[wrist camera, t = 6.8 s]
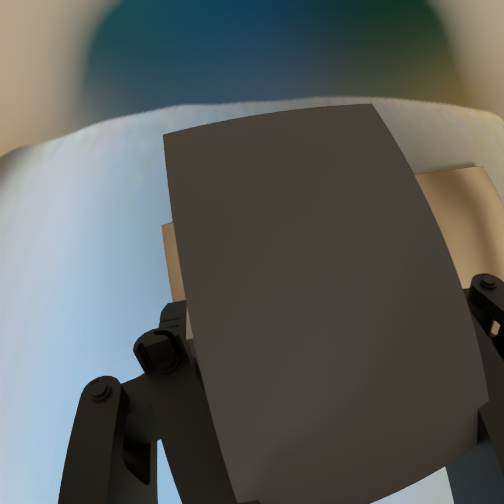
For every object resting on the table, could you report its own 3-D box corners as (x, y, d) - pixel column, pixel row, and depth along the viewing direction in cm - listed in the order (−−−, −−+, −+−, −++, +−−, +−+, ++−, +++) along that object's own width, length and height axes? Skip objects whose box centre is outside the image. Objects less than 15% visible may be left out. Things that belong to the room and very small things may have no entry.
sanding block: (218, 279, 17) (163, 134, 6) (306, 258, 17) (371, 103, 7) (252, 422, 14) (249, 536, 3) (344, 397, 14) (493, 433, 4)
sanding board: (223, 486, 14) (220, 494, 13) (166, 233, 19) (161, 225, 18) (538, 343, 16) (547, 341, 14) (476, 173, 21) (483, 165, 20)
